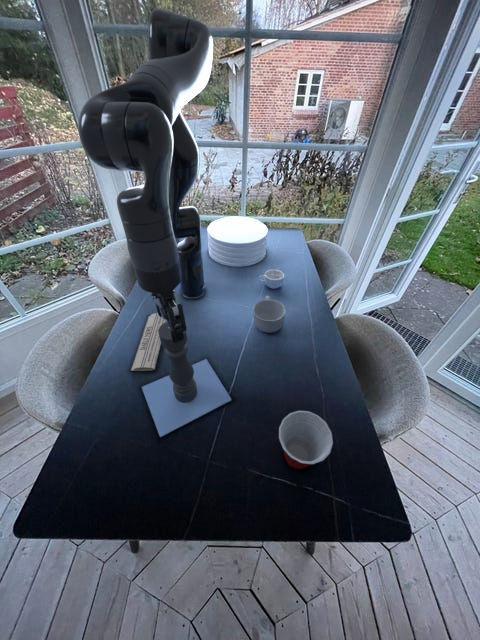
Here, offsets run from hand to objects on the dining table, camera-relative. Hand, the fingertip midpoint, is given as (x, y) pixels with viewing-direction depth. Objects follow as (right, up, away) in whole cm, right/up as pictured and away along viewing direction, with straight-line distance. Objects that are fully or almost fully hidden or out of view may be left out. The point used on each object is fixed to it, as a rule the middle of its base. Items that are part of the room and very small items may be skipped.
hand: (170, 326), depth 55 cm
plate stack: (+13, +35, +76) cm, 85 cm away
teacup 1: (+27, +16, +56) cm, 64 cm away
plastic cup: (+27, -31, +7) cm, 42 cm away
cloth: (-1, -19, +18) cm, 27 cm away
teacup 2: (+24, 0, +40) cm, 46 cm away
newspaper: (-15, -6, +32) cm, 36 cm away
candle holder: (-1, -19, +18) cm, 26 cm away
